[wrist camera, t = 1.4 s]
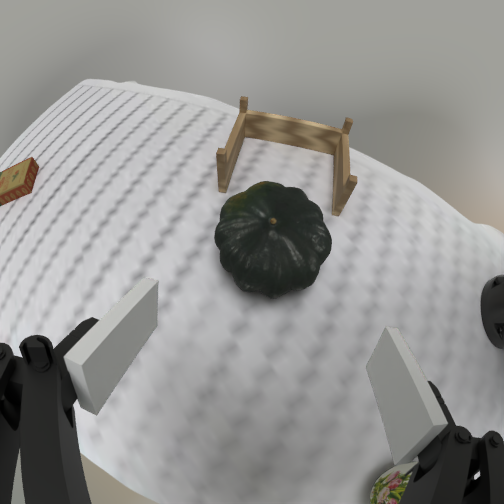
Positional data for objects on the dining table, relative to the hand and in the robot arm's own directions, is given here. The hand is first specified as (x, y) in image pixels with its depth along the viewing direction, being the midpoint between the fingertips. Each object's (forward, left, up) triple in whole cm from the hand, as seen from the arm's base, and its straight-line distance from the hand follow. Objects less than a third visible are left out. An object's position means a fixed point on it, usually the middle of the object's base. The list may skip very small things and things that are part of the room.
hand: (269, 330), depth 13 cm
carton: (+61, -19, -24) cm, 68 cm away
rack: (0, -33, -24) cm, 41 cm away
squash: (0, -15, -24) cm, 28 cm away
